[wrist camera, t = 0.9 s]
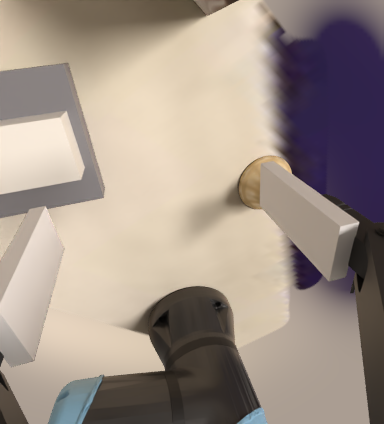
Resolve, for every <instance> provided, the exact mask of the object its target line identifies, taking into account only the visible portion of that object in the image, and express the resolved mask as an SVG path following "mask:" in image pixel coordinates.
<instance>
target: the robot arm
mask: <svg viewBox="0 0 384 424" xmlns="http://www.w3.org/2000/svg"><path fill="white" fill-rule="evenodd" d="M260 207H261V208H262V209H263V210H264V211H265V212H266V213H267V214H268V215H269V216H270V218H271V219H272V220H273V221H274V222H275V223H276V224H277V225H278V226H279V227H280V228H281V230H282V231H283V232H284V233H285V234H286V235H287V236H288V237H289V238H290V239H291V240H292V242H293V243H294V244H295V245H296V246H297V247H298V248H299V249H300V250H301V251H302V252H303V254H304V255H305V256H306V257H307V258H308V259H309V260H310V261H311V262H312V263H313V264H314V266H315V267H316V268H317V269H318V270H319V271H320V272H321V273H322V274H323V275H324V276H325V277H326V278H327V280H328V281H333V280H336V279H340V278H344V277H346V274H347V270H348V266H350V267H351V268H352V269H353V270H354V271H355V276H354V280H353V284H352V287H351V292H350V293H353V292H354V290H355V295H356V303H357V312H358V321H359V330H360V339H361V348H362V356H363V366H364V375H365V384H366V393H367V400H368V410H369V418H370V424H384V223H378V222H377V223H373V222H372V221H370V220H369V219H367V218H366V217H364V216H363V215H361V214H360V213H358V212H357V211H355V210H354V209H351V207H349V206H348V205H345V204H344V203H343V202H342V201H340V200H339V199H337V198H335V197H333V196H330V195H327V194H324V195H321V194H319V193H318V192H316V191H315V190H314V189H312V188H311V187H309V186H308V185H306V184H305V183H304V182H302V181H301V180H299V179H298V178H297V177H295V176H294V175H292V174H291V173H290V172H288V171H287V170H285V169H284V168H282V167H281V166H280V165H278V164H277V163H275V162H274V161H271V162H266V163H261V168H260ZM63 252H64V246H63V244H62V242H61V240H60V237H59V235H58V233H57V231H56V228H55V226H54V224H53V222H52V219H51V217H50V215H49V213H48V210H47V208H46V206H42V207H37V208H32V209H29V211H28V213H27V214H26V216H25V218H24V220H23V222H22V223H21V225H20V227H19V229H18V231H17V232H16V234H15V236H14V238H13V240H12V241H11V243H10V245H9V247H8V248H7V250H6V252H5V254H4V256H3V257H2V259H1V261H0V366H1V363H2V360H3V358H4V359H5V360H6V361H7V363H8V364H9V365H10V366H11V367H14V366H17V365H21V364H25V363H29V362H32V361H34V360H35V356H36V352H37V348H38V345H39V341H40V337H41V334H42V330H43V326H44V322H45V319H46V315H47V311H48V308H49V304H50V300H51V297H52V293H53V289H54V285H55V282H56V278H57V274H58V271H59V267H60V263H61V260H62V256H63ZM148 328H149V336H150V340H151V342H152V344H153V346H154V348H155V350H156V352H157V354H158V355H159V357H160V359H161V361H162V363H163V365H164V367H165V371H158V372H148V373H137V374H127V375H118V376H108V377H104V375H100V376H99V377H95V378H88V379H82V380H75V381H72V382H70V383H69V384H67V385H66V386H65V387H64V388H63V389H62V390H61V392H60V394H59V395H58V397H57V399H56V402H55V404H54V407H53V410H52V413H51V416H50V419H49V422H48V424H267V421H266V418H265V415H264V410H263V408H261V405H260V403H259V401H258V398H257V396H256V393H255V391H254V389H253V387H252V384H251V382H250V379H249V377H248V374H247V372H246V370H245V367H244V365H243V362H242V360H241V357H240V355H239V353H238V350H237V348H236V345H235V336H234V320H233V312H232V309H231V307H230V305H229V302H228V300H227V298H226V297H225V296H224V295H223V294H222V293H221V292H219V291H217V290H215V289H212V288H208V287H190V288H185V289H182V290H179V291H176V292H174V293H172V294H170V295H168V296H167V297H165V298H164V299H162V300H161V301H160V302H159V303H158V304H157V305H156V306H155V307H154V309H153V310H152V312H151V314H150V316H149V320H148ZM0 424H28V422H27V420H26V418H25V416H24V414H23V412H22V410H21V408H20V406H19V404H18V402H17V400H16V398H15V396H14V394H13V392H12V390H11V388H10V386H9V384H8V382H7V380H6V378H5V376H4V374H3V373H2V372H1V371H0Z"/></svg>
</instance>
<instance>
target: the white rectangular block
mask: <svg viewBox="0 0 384 424" xmlns="http://www.w3.org/2000/svg"><path fill="white" fill-rule="evenodd" d="M84 169H85V167H84V164H83V161H82V157H81V154H80V151H79V148H78V145H77V142H76V139H75V136H74V133H73V129H72V126H71V123H70V120H69V117H68V114H67V111H61V112H54V113H48V114H41V115H34V116H27V117H20V118H14V119H7V120H0V194H6V193H11V192H17V191H22V190H28V189H33V188H39V187H44V186H50V185H55V184H61V183H66V182H72V181H77V180H81V179H82V175H83V172H84Z"/></svg>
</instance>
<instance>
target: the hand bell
mask: <svg viewBox="0 0 384 424" xmlns="http://www.w3.org/2000/svg"><path fill="white" fill-rule="evenodd" d="M271 161H274V162H275V163H277V164H278V165H280V166H281V167H282V168H284V169H285V170H287V171H288V172H290V173H291V174H292V172H291V169H290V166H289V165H288V163H287V162H286V161H285V160H284V159H282V158H280V157H277V156H265V157H262V158H259V159H257V160H255V161H254V162H253V163H251V164H250V165H249V166H248V167H247V168H246V169H245V171H244V172H243V174H242V176H241V179H240V182H239V195H240V198H241V199H242V201H243V202H244V203H245V204H246V205H247V206H249V207H251V208H254V209H262V208H261V207H260V168H261V163H266V162H271Z"/></svg>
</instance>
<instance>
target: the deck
mask: <svg viewBox="0 0 384 424" xmlns="http://www.w3.org/2000/svg"><path fill="white" fill-rule="evenodd" d="M61 111H67V114H68V117H69V120H70V123H71V126H72V129H73V133H74V136H75V139H76V142H77V145H78V148H79V151H80V154H81V157H82V161H83V164H84V167H85V169H84V172H83V175H82V179H81V180H77V181H72V182H66V183H61V184H55V185H50V186H44V187H39V188H33V189H28V190H22V191H17V192H11V193H6V194H0V218H3V217H8V216H13V215H18V214H23V213H28V211H29V209H32V208H37V207H42V206H46V208H47V209H49V208H54V207H59V206H64V205H70V204H75V203H80V202H85V201H90V200H95V199H100V198H104V190H105V187H104V183H103V180H102V177H101V173H100V170H99V166H98V163H97V160H96V156H95V153H94V149H93V146H92V143H91V139H90V136H89V132H88V129H87V126H86V122H85V119H84V115H83V112H82V109H81V105H80V102H79V98H78V95H77V92H76V88H75V85H74V81H73V78H72V75H71V71H70V68H69V64H68V63H64V64H56V65H48V66H40V67H32V68H24V69H15V70H7V71H0V120H7V119H14V118H20V117H27V116H34V115H41V114H48V113H54V112H61Z"/></svg>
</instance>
